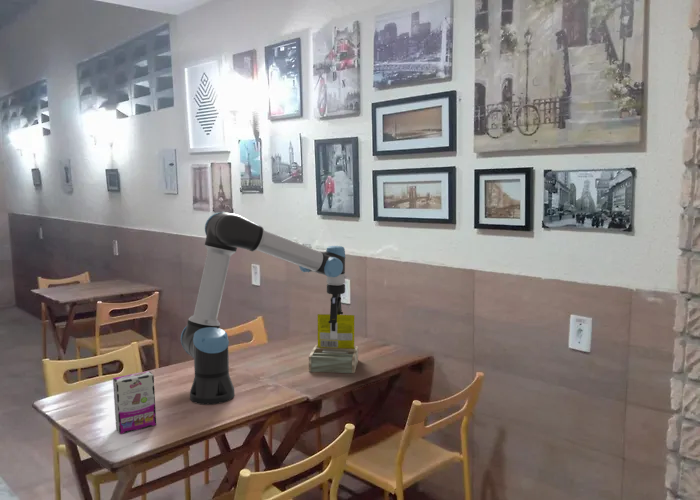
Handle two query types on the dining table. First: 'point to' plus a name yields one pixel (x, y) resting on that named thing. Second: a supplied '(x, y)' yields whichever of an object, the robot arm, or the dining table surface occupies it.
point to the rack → (333, 360)
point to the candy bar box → (134, 402)
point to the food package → (343, 332)
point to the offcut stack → (335, 351)
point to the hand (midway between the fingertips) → (335, 334)
